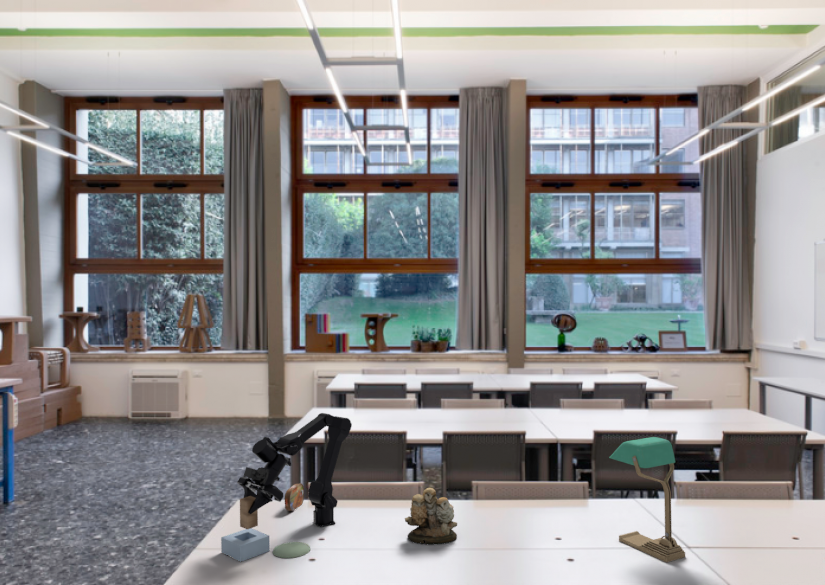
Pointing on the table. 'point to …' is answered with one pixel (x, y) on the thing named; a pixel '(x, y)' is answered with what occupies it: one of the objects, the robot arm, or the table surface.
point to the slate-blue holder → (245, 544)
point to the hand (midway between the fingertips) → (245, 511)
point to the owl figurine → (431, 519)
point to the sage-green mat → (291, 550)
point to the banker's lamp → (658, 454)
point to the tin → (294, 497)
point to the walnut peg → (246, 518)
